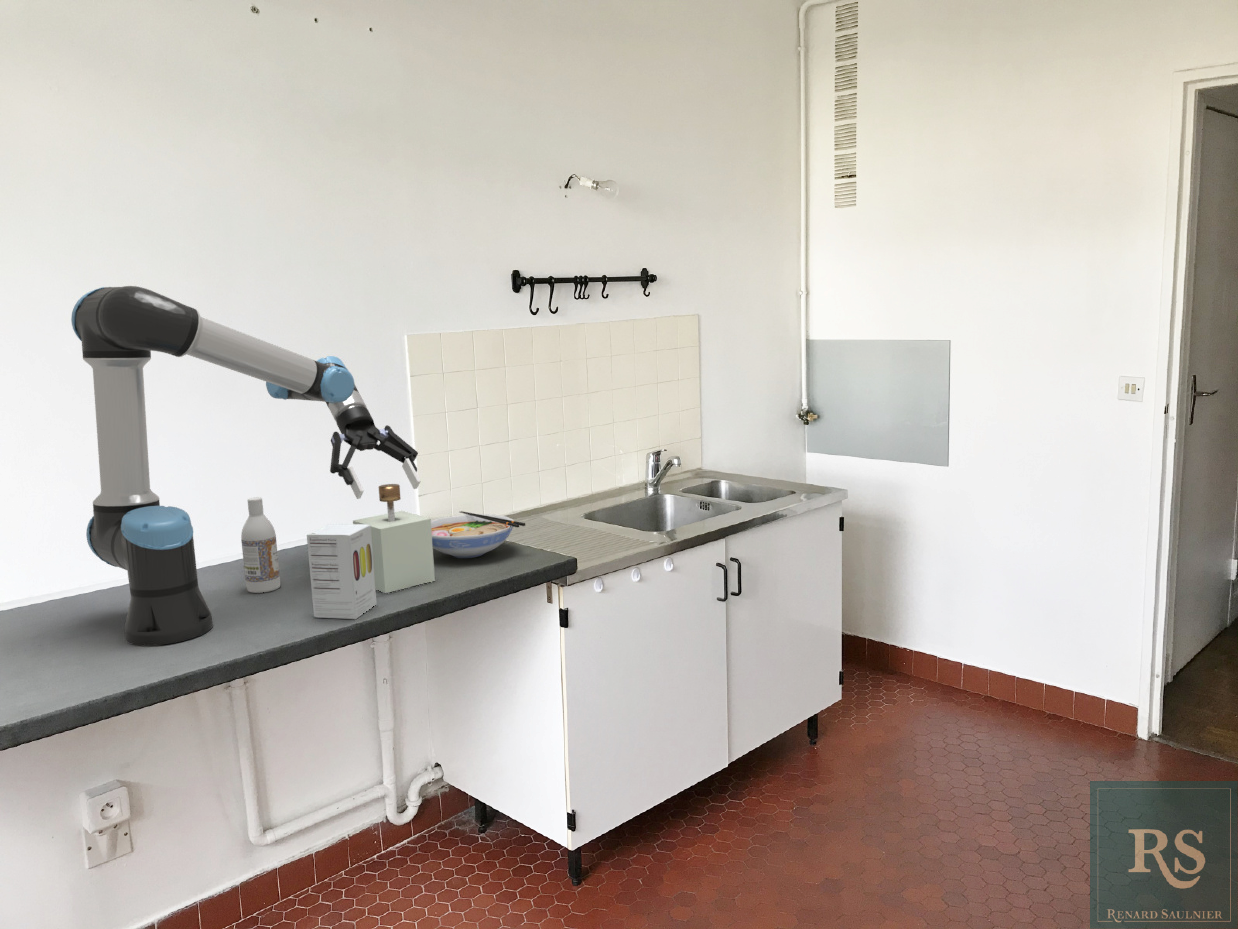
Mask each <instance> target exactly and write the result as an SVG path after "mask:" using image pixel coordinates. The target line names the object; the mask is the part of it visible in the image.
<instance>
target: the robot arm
mask: <svg viewBox="0 0 1238 929" xmlns="http://www.w3.org/2000/svg"><path fill="white" fill-rule="evenodd" d="M70 320H71V326H72V330H73V331H74V334H75V336H76V337H77V338H78V339H79V341H81V349H82V350H81V351H82V359H83V361H84V362H85V363H87V364H88V365H89V366H91V369H92V376H93V378H92V379H93V391H94V394H93V395H94V404H95V405H94V407H95V408H94V409H95V419H96V420H95V422H96V423H95V424H96V436H97V438H96V439H97V452H98V464H99V465H98V467H99V481H100V482H99V483H100V493H99V494H98V496H96V497H95V499H94V500H92V510H93V511H92V512H93V516H92V517H91V518H90V520H89V521H88V524H87V527H86V536H85V537H86V541H87V544H88V547H89V548H90V550H91V552H92V553H93V554H94V555H95V557H97V558H99V559H100V560H101V561H102V562H105V563H106V565H109V566H112V567H115V568H120V569H123V570H125V571H127V579H128V586H129V591H130V592H129V593H130V601H129V605H128V610H127V615H126V618H125V624H124V628H123V631H124V637H125V638H124V639H125V641H126V642H127V643H129V644H131V645H136V646H162V645H163V646H164V645H170V644H174V643H179V642H184V641H188V640H191V639H195V638H198V637H199V636H202V635H204V634H206V633H208V632H209V631H210V630H211V629H212V628H213V625H214V622H213V621H214V620H213V616H212V612H211V610H210V608H209V606H208V603H207V602H206V600H205V598H204V596H203V594H202V592H201V590H200V587H199V580H198V570H197V561H196V552H195V550H196V549H195V540H194V527H193V526H192V521H191V517H190V514H188V512H186V511H185V510H184V509H183V508H179V507H177V506H170V505H169V506H168V505H167V506H165V505H160V496H158V495H157V494H156V493H155V492H153V491H152V489H151V482H150V480H151V479H150V467H149V466H150V465H149V464H150V463H149V462H150V461H149V450H148V449H149V448H148V446H149V445H148V433H147V432H148V430H147V416H146V415H147V414H146V397H145V382H144V367H145V366H146V365H147V364H148V362H150V361H151V359H152V354H151V352H152V351H153V352H157V353H164V354H168V355H171V356H173V357H176V358H183V356H186V355H187V356H190V357H193V358H196V359H199V360H202V361H204V362H208V363H212V364H213V365H217V366H220V367H222V368H226V369H228V370H230V371H234V372H237V373H240V374H243V375H246V376H248V377H251V378H255V379H256V380H257V379H258V380H261V381H263V382H265V387H266V391H267V393H268V394H269V395H270V397H272V398H274V399H280V400H285V401H286V400H302V401H311V402H312V401H314V402H315V401H316V402H325V404H326V406H327V407H328V409H329V412H330V413H331V415H332V417H333V420H334V422H335V423H336V426H337V427H338V430H339V432H340V433H339V432H338V431H334V432H332V436H331V438H330V442H331V446H332V449H331V450H332V451H331V459H330V466H329V471H330V473H331V474H336V473H337V475H338V476H339V477H340V478H343V481H344V482H345V484H346V486H350V487H351V490H352V492H353V494H354V496H355V498H356V499H357V500H359V499H361V498H362V496H363V493H364V491H365V490H364V488H363V487H362V484H361V482H360V480H359V478H358V477H357V474H356V472H355V470H354V468H353V467H352V466H349V465H350V463H351V460H352V458H353V457H354V454H355V452H356V450H357V451H359V452H362V451H366V450H369V451H370V450H374V449H375V450H376V451H377V452H383V453H384V454H387V455H388V456H390V457H391V458H393V459H395V460H397V461H398V462H400V463H402V466H401V467H402V469H403V471H404V473H405V475H406V477H407V479H408V481H409V482H410V484H411V486H412V489H413V490H417V489H418V487H419V485H420V484H421V478H420V476H419V475H418V473H417V472H418V468H417V465H416V464H415V461H416V459H417V456H418V454H419V452H418V451H417V450H416V449H415V448H414V447H413V446H411V445H410V444H408V442H406V441H405V440H404V439H402V438H401V437H400V436H399V435H398V434H396V433H395V432H394V430H393V429H392V427H391V426H390V425H385V426H384V428H381V429H379V428H378V427H377V426H376V424H375V422H374V419H373V416H372V415H371V413H370V411H369V409H368V407H367V404H366V402H365V401H364V399H363V398H362V396H361V394H360V392H359V390H358V387H357V386H356V384H355V379H354V377H353V374H352V373H351V372H350V371H349V369H348V368H347V367H346V365H345V364H344V362H343V361H342V359H340V358H339V357H338V356H335V355H334V356H333V355H327V356H326V357H320V358H319V359H317V360H314V359H312V358H309V357H307V356H304V355H301V354H299V353H296V352H293V351H291V350H288V349H286V348H284V347H280V346H278V345H276V344H273V343H270V342H267V341H265V340H263V339H260V338H257V337H254V336H252V335H250V334H246V333H245V332H242V331H239V330H236V329H233V328H231V327H228V326H226V325H223V324H221V323H218V322H215V321H212V320H209V319H208V318H205V317H202V316H201V314H200V313H199V310H198V309H197V308H194V307H191V306H188V305H187V304H184V303H181V302H179V301H177V300H175V299H172V298H170V297H168V296H166V295H163V294H160V293H158V292H156V291H154V290H151V289H148V288H145V287H141V286H136V285H125V286H102V287H99V288H95V289H93V290H90V291H89V292H86V293H85V294H84V295H82V296H81V297H80V298H79V299H78V300H76V303H75V304H74V306H73V308H72V312H71V318H70ZM343 442H344V443H346V444H347V445H349V446H350V447H349V449H348V451H347V453H346V455H345V457H344V459H343V463H342V464H340V457H341V449H342V448H341V447H342V443H343ZM378 442H379V443H378Z"/></svg>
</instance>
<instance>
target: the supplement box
mask: <svg viewBox="0 0 1238 929" xmlns="http://www.w3.org/2000/svg"><path fill="white" fill-rule="evenodd" d="M306 543H307V553H308V554H307V555H308V564H309V576H310V586H311V589H310V590H311V597H312V599H311V600H312V609H313V610H312V611H313V618H320V619H323V618H324V619H325V618H327V619H343V620H345V619H346V620H357V619H358V618H359V617H361V616H363V615H364V614H365V613H367V612H369V611H370V610H372V609H373V608H374V607H376V606H377V594H376V592H377V591H376V590H375V578H374V565H373V552H372V538H371V526H370V525H366V524H353V523H351V524H349V523H348V524H347V523H345V524H343V523H330V524H327V525H325V526H323V527H322V528H319V529H316V530H315V531H312V532H310V533H307V535H306ZM375 605H376V606H375ZM373 606H374V607H373ZM372 607H373V608H372ZM369 609H370V610H369ZM366 611H367V612H366ZM363 613H364V614H363Z"/></svg>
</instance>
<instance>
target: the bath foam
mask: <svg viewBox="0 0 1238 929" xmlns="http://www.w3.org/2000/svg"><path fill="white" fill-rule="evenodd" d="M247 507H248V509H247V510H248V515H249V516H248V518H247V519H246V521H245V522H244V525H243V526H242V529H241V534H240V535H241V537H240V539H241V541H240V542H241V548H242V550H241V551H242V559H243V570H244V579H245V586H246V588H245V589H246V590H247V592H249V593H253V594H259V593H260V594H261V593H263V592H264V593H269V592H273V591H275V590H278V589H279V588H280V587H281V574H280V566H279V565H280V564H279V557H278V556H279V555H278V545H277V544H278V543H277V534H276V530H275V527H274V525H273V524H272V523H271V521H270V520H269V519H268V518H267V516H266V515H265V514H264V506H263V498H262V496H261V497H259V496H256V497H249V498H247ZM264 593H263V594H264Z"/></svg>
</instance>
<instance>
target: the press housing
mask: <svg viewBox="0 0 1238 929" xmlns="http://www.w3.org/2000/svg"><path fill="white" fill-rule="evenodd" d="M394 513H395V521H391V522H388V513H384V514H380V515H374V516H370V517H365V518H359V519H355V520H352V524H366V525H370V526H371V538H372V552H373V565H374V578H375V589H377V590H379V591H381V592H385V593H386V592H391V591H395V590H397V589H404V588H407V587H410V586H413V585H419V584H423V583H427V582H431V583H433V582H432V581H435V582H436V578H435V560H434V548H433V546H432V532H431V521H432V519H431V518H429V517H425V516H423V515H419V514H415V513H411V512H408V511H404V510H400V511H394ZM427 584H428V583H427ZM423 585H424V584H423ZM419 586H420V585H419ZM404 590H405V589H404ZM379 591H378V592H379ZM381 592H380V593H381Z"/></svg>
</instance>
